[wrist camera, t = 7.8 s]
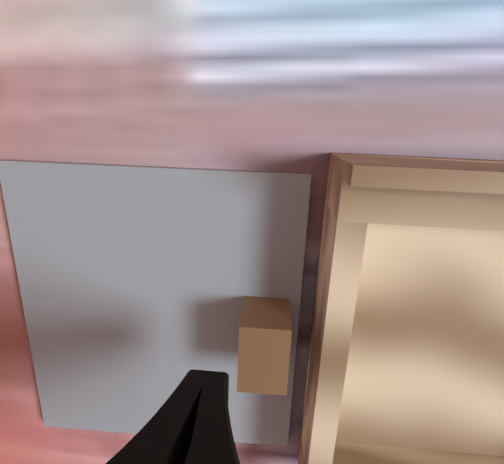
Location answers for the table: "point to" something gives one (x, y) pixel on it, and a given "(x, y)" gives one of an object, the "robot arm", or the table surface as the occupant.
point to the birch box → (408, 314)
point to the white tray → (158, 288)
